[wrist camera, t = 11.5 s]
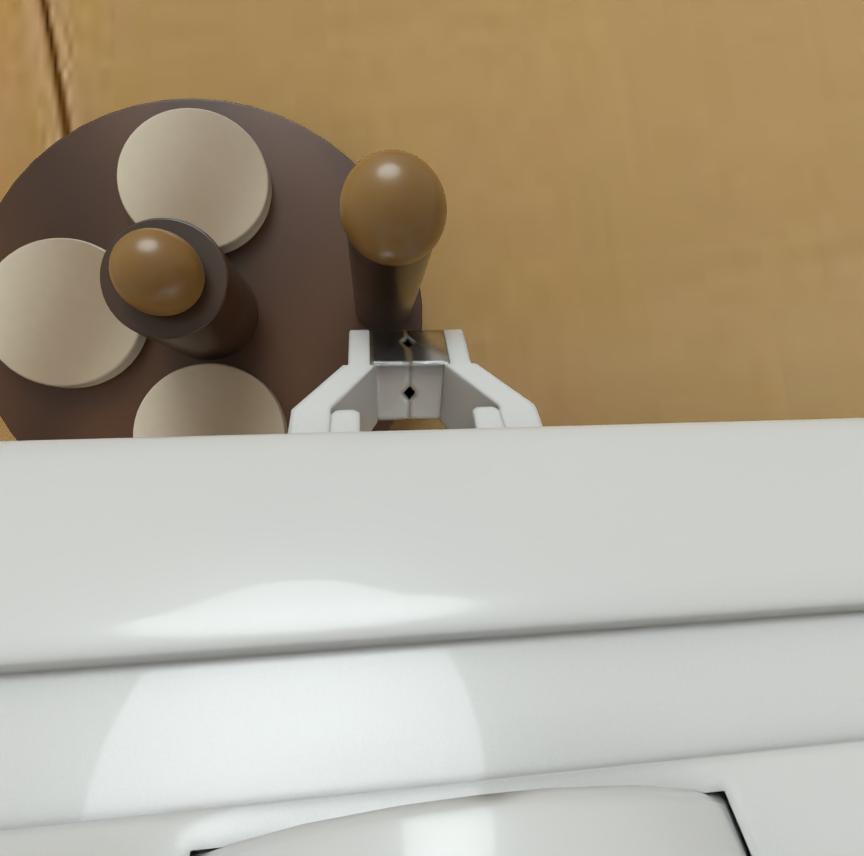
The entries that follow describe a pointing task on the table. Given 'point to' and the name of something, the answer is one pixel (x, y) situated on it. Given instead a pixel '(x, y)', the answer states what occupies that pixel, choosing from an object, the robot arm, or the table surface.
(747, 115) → the table surface
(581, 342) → the table surface
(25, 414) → the brown round base
